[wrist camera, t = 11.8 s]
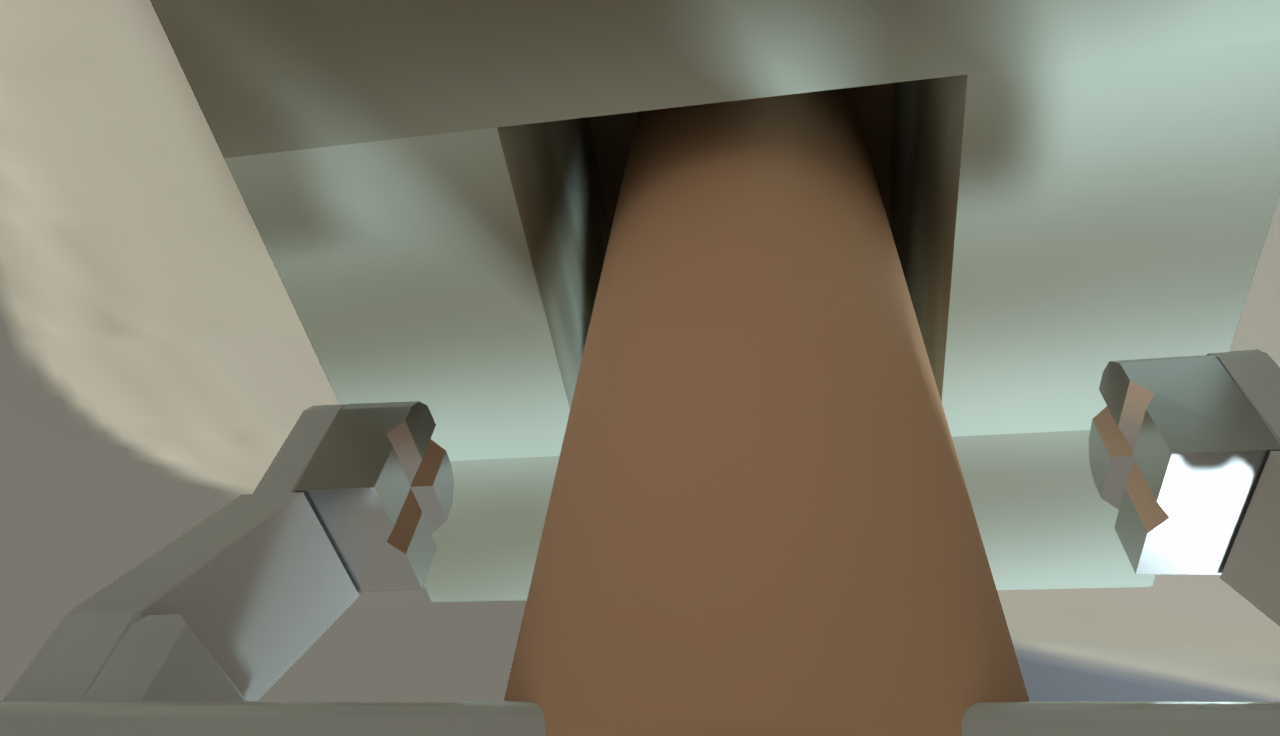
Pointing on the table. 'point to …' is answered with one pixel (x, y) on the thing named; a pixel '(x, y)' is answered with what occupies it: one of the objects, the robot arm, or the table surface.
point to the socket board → (729, 71)
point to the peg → (758, 460)
